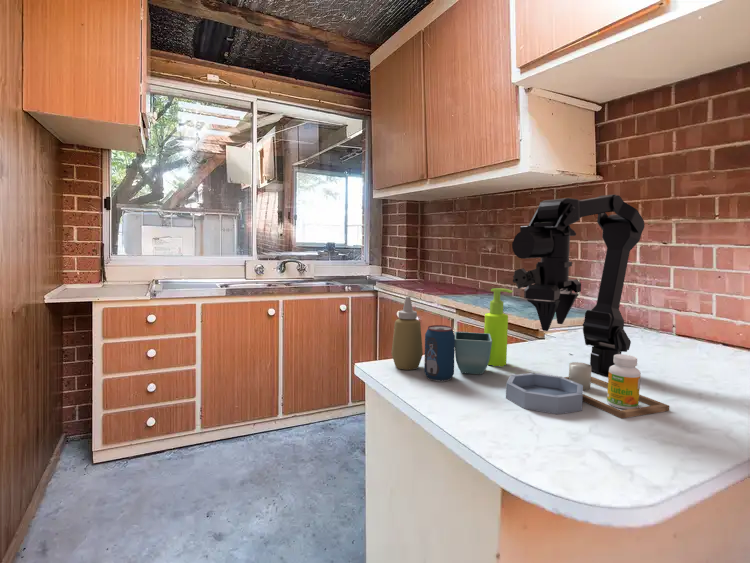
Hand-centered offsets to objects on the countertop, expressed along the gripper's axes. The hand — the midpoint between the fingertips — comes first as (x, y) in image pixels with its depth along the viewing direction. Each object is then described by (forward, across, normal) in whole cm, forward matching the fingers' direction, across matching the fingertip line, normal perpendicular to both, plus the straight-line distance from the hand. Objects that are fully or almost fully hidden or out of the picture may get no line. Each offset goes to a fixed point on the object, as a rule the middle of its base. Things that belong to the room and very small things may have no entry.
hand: (552, 327), depth 93 cm
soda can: (+13, +13, -21) cm, 28 cm away
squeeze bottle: (+13, +12, -32) cm, 36 cm away
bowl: (+13, +11, +2) cm, 17 cm away
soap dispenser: (+13, -7, -17) cm, 22 cm away
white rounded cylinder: (+13, -3, +5) cm, 14 cm away
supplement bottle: (+13, +3, +15) cm, 20 cm away
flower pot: (+13, +4, -18) cm, 23 cm away
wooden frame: (+13, 0, +10) cm, 17 cm away
